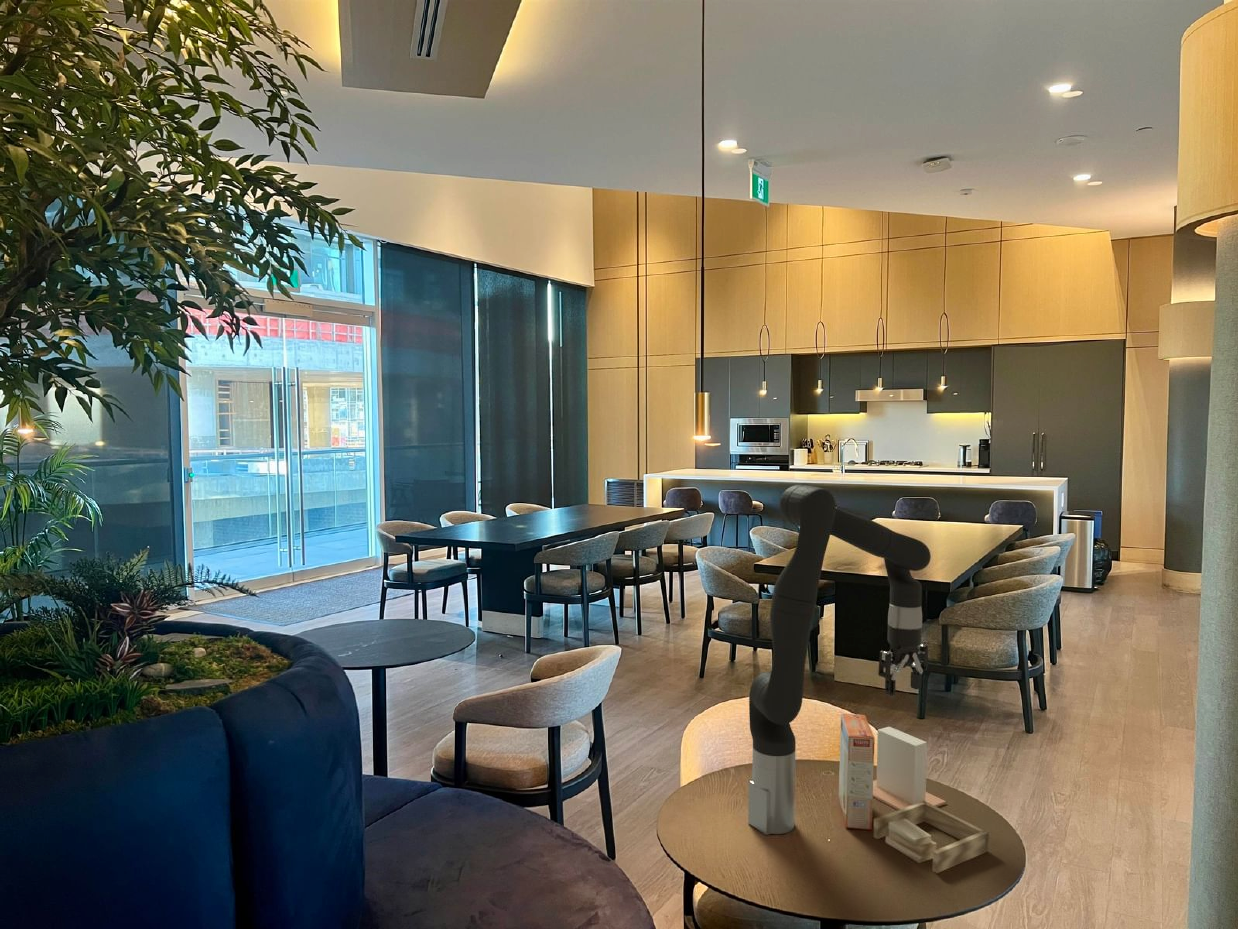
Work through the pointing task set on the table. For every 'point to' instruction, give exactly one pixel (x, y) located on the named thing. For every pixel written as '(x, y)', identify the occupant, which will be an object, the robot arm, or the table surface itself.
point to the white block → (901, 765)
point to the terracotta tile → (900, 803)
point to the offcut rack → (950, 855)
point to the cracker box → (856, 771)
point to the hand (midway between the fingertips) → (902, 691)
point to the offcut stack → (911, 840)
